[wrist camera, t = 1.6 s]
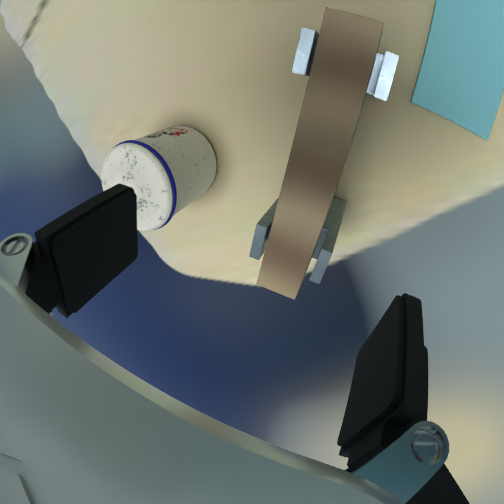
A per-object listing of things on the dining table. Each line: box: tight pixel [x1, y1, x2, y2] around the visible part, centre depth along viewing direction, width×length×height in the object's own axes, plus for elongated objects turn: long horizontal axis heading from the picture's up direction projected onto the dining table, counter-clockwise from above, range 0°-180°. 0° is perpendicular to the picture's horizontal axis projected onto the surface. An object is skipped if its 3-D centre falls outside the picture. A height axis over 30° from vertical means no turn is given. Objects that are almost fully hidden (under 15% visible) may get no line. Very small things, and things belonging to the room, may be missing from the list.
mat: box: [410, 0, 504, 140], centre depth 14 cm, size 22×8×1 cm, turn 169°
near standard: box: [292, 28, 399, 101], centre depth 18 cm, size 3×6×10 cm, turn 79°
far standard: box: [249, 196, 347, 284], centre depth 27 cm, size 3×6×10 cm, turn 79°
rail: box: [256, 7, 383, 299], centre depth 19 cm, size 20×3×4 cm, turn 169°
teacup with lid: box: [102, 126, 217, 231], centre depth 30 cm, size 12×9×12 cm
